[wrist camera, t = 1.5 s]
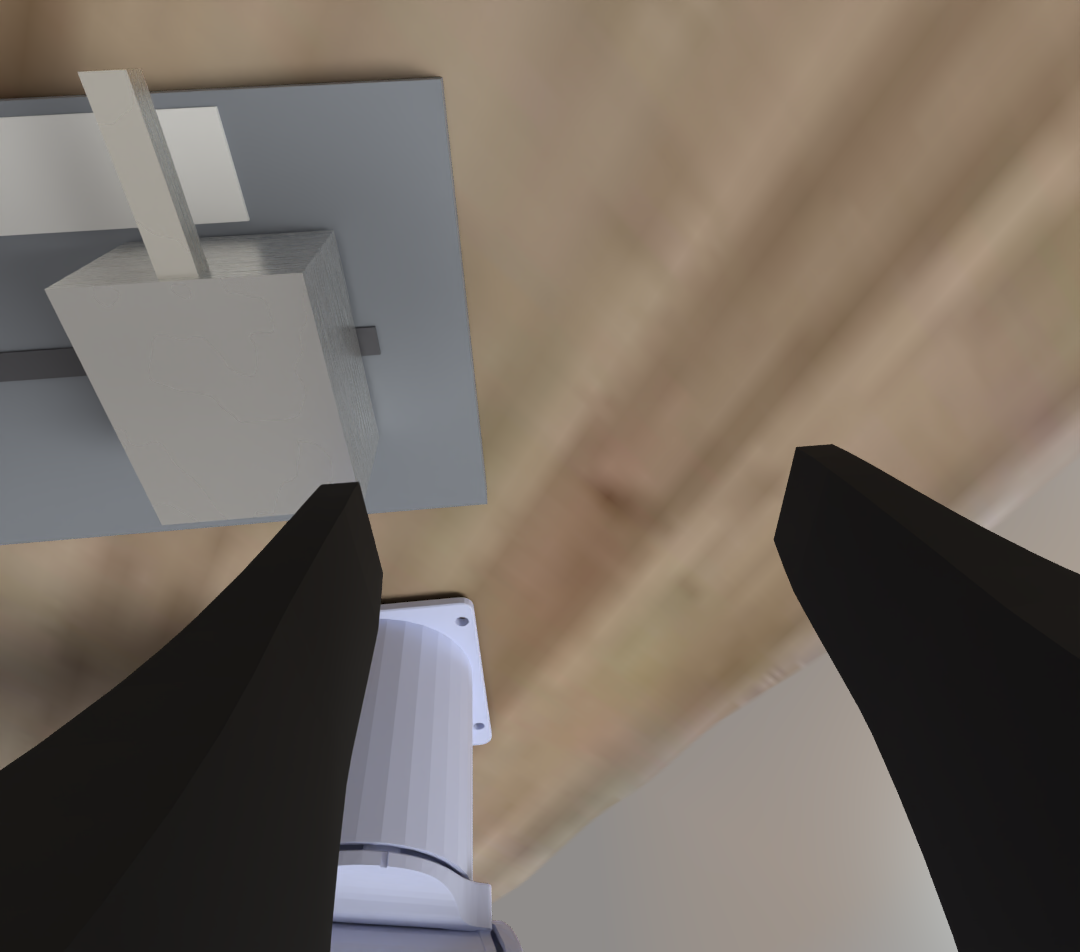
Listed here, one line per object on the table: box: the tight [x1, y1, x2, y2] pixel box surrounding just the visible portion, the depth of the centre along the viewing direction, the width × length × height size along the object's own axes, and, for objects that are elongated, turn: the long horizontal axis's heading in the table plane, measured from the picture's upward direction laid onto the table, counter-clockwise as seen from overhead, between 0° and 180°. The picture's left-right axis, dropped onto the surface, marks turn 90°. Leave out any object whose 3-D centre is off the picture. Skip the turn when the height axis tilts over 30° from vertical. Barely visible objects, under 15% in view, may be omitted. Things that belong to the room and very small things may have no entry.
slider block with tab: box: [44, 68, 379, 525], centre depth 15 cm, size 10×5×4 cm, turn 2°
